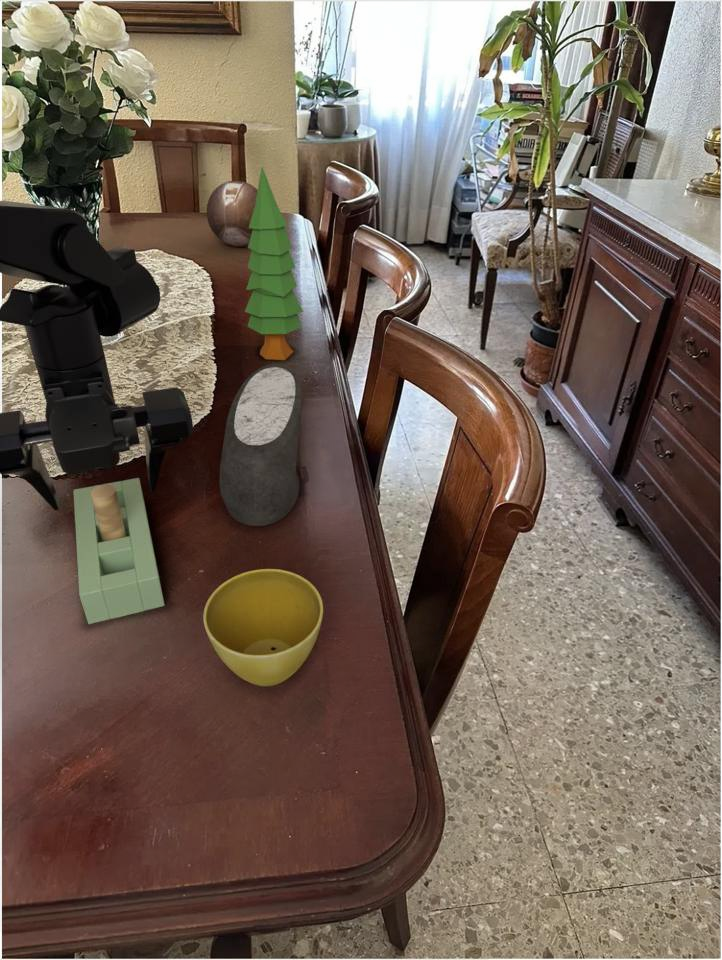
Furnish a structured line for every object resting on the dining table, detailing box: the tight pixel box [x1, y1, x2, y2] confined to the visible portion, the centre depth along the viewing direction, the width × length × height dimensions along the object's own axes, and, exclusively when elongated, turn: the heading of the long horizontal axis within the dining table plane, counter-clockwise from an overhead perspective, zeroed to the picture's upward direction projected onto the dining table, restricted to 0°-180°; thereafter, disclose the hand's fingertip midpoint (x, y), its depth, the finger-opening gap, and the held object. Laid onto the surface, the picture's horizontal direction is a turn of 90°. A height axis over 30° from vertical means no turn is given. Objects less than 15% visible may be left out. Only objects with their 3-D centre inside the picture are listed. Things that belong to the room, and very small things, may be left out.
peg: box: [91, 484, 127, 542], centre depth 69 cm, size 2×2×9 cm
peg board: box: [73, 477, 166, 625], centre depth 70 cm, size 7×18×4 cm, turn 21°
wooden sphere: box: [206, 180, 258, 248], centre depth 162 cm, size 15×15×15 cm
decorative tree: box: [244, 166, 304, 361], centre depth 107 cm, size 10×9×30 cm
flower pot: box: [202, 568, 324, 687], centre depth 58 cm, size 10×10×7 cm
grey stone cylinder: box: [219, 363, 303, 527], centre depth 83 cm, size 25×9×9 cm, turn 179°
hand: (105, 498), depth 67 cm, fingers open, 9 cm apart
